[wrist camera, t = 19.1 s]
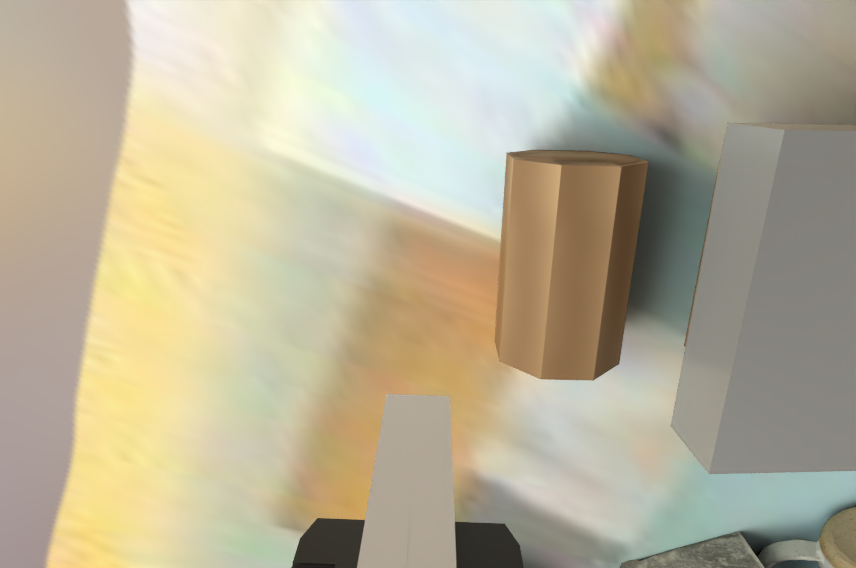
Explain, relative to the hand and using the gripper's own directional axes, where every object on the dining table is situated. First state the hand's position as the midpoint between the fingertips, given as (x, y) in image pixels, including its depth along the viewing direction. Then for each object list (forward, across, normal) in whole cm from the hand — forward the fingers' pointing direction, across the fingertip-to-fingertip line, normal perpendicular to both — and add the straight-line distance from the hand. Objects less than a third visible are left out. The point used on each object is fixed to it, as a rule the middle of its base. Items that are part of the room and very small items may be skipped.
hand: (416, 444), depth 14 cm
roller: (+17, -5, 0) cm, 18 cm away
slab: (+12, -20, 0) cm, 23 cm away
